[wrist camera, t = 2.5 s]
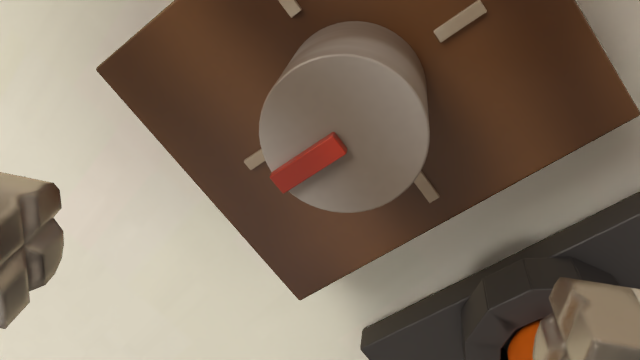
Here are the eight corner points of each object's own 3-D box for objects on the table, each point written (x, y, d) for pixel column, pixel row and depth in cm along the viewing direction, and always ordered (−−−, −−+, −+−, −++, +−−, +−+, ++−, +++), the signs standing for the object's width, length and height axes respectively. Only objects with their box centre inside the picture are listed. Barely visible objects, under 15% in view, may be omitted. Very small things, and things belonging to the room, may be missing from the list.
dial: (372, -10, 16) (361, 19, 13) (454, 109, 17) (464, 166, 14) (257, 74, 17) (220, 122, 14) (340, 179, 18) (324, 246, 15)
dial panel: (436, -213, 16) (441, -232, 13) (610, 82, 19) (644, 117, 16) (135, 45, 21) (91, 71, 18) (312, 254, 24) (298, 304, 21)
